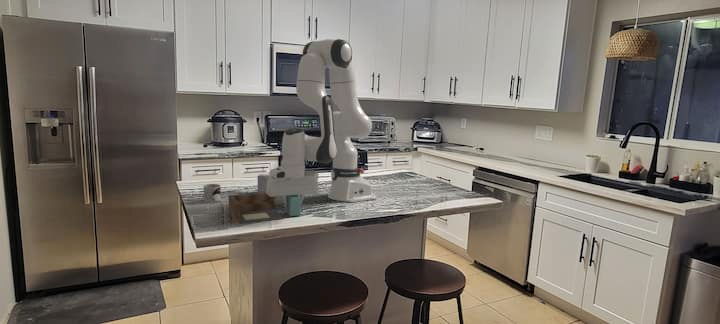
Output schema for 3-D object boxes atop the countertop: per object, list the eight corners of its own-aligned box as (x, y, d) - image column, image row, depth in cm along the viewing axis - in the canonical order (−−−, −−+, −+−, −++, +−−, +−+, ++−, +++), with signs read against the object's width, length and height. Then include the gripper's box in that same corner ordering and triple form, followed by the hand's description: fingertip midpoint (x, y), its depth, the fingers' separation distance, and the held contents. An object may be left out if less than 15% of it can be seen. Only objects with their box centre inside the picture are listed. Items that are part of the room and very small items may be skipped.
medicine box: (276, 192, 193) (277, 174, 192) (274, 195, 189) (274, 176, 188) (260, 191, 194) (260, 173, 193) (257, 193, 190) (257, 175, 188)
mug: (215, 203, 171) (215, 188, 170) (200, 202, 172) (200, 186, 171) (227, 197, 181) (227, 183, 180) (213, 196, 182) (212, 181, 181)
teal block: (294, 210, 166) (295, 193, 165) (300, 215, 160) (300, 197, 159) (285, 211, 164) (285, 194, 163) (290, 216, 158) (290, 198, 157)
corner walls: (273, 209, 167) (273, 192, 166) (283, 219, 156) (283, 200, 154) (228, 213, 160) (228, 195, 158) (235, 223, 148) (235, 204, 147)
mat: (274, 210, 166) (274, 208, 166) (283, 219, 156) (283, 217, 156) (233, 213, 159) (233, 212, 159) (239, 223, 148) (239, 222, 148)
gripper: (315, 168, 167) (314, 201, 169) (265, 170, 158) (265, 206, 160) (321, 171, 161) (320, 205, 164) (269, 174, 152) (269, 210, 155)
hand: (292, 205), depth 162 cm, fingers closed on teal block, 4 cm apart
